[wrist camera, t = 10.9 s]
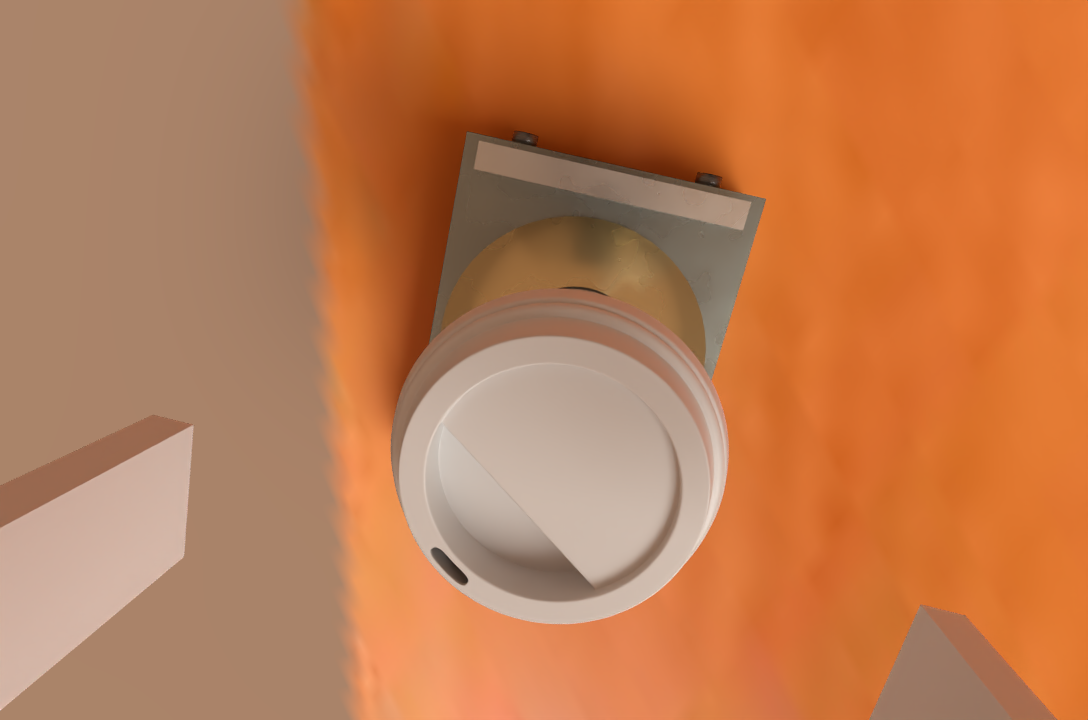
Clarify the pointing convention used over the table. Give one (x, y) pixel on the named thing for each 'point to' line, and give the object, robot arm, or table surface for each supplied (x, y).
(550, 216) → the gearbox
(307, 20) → the table surface
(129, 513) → the robot arm
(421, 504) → the coffee cup
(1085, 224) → the table surface
